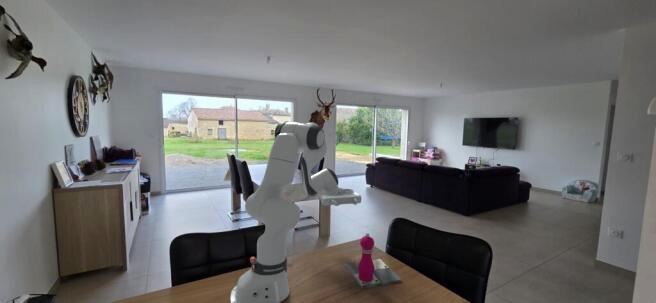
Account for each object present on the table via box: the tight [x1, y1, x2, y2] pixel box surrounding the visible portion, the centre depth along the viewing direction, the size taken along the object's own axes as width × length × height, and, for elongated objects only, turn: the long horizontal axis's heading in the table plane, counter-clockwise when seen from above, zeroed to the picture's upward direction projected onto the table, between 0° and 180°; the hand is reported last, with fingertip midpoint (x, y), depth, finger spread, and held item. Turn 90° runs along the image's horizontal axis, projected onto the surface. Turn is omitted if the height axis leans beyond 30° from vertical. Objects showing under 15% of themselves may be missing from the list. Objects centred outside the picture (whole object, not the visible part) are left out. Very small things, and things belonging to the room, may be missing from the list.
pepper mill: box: [358, 232, 375, 282], centre depth 117 cm, size 7×7×20 cm
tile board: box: [344, 258, 402, 290], centre depth 124 cm, size 19×19×1 cm
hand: (346, 203), depth 129 cm, fingers open, 8 cm apart
